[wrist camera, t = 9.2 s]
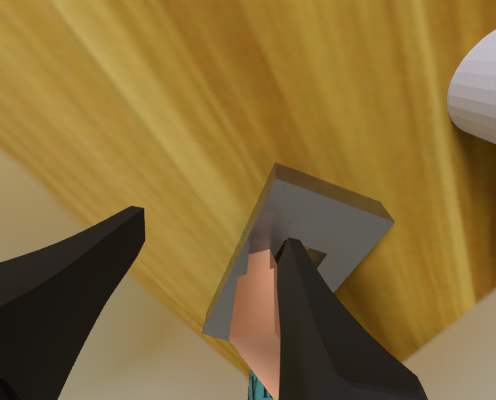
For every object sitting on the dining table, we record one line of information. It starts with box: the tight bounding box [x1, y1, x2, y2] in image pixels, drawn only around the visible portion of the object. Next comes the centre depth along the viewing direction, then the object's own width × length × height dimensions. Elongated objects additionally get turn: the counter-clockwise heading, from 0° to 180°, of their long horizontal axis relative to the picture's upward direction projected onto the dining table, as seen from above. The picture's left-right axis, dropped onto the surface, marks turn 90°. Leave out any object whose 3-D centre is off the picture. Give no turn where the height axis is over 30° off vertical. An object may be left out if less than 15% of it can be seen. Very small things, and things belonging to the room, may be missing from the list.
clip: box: [229, 249, 280, 400], centre depth 21 cm, size 3×11×8 cm, turn 22°
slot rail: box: [202, 163, 395, 341], centre depth 25 cm, size 10×22×3 cm, turn 160°
